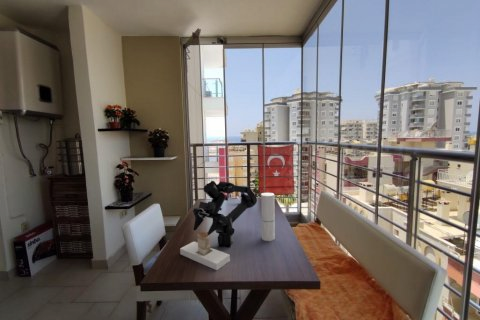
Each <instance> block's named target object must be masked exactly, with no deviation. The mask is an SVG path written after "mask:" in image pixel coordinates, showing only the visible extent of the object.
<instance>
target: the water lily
mask: <svg viewBox="0 0 480 320" xmlns="http://www.w3.org/2000/svg"><path fill="white" fill-rule="evenodd" d="M238 193H239V195H237V196H236V198H237V199H238V201H240V202H241V192H238ZM244 194H245V195H248V194H247V193H244Z"/></svg>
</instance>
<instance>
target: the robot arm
mask: <svg viewBox="0 0 480 320" xmlns="http://www.w3.org/2000/svg"><path fill="white" fill-rule="evenodd" d="M203 192H204V193H205V194H206V195H207V196H208V198H210V199H211V201H210V200H209V201H208V202H204V201H199V205H198V207H195V208H193V210H192V213H193V215H194V225H193V231H196V230H197V229H198V228H199V227H200V226H201V224H202V223H203V222H204V219H205V218H209V219H212V223H211V225H210V227H209V229H208V231H207V232H208V235H211V234H213V233H214V232H216V234H218V236H217V244H218V246H217V248H231V246H232V245H233V242H234V241H233V239H232V236H233V235H234V234H235V229H234V227H233V224H234V222H235V221H237V219H238V218H240V216H241V215H242V214H243V213H244V212H245V211H247V209H251V208H253V207H254V206H255V205H256V204H257V201H258V199H257V196H256V194H255V193H254V192H253V190H252V189H251V187H250V186H248V185H237V184H236V185H235V183H232V182H230V181H223V180H222V181H219V182H218V183H216V181H215V180H211V181H210V182H207V183H206V184H205V185H204V187H203ZM239 192H241V195H240V197H241V201H240V203H238V205H236V206H235V208H234V209H232V210H231V211H230V212H229V213H227V215H226V216H225V215H224V214H223V213H219V212H220V211H222V210H223V209H222V206H223V204H224V202H225V201H229V199H228V195H227V194H233V193H239ZM244 193H247V194H248V195H245V194H244Z"/></svg>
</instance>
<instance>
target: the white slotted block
mask: <svg viewBox="0 0 480 320" xmlns="http://www.w3.org/2000/svg"><path fill="white" fill-rule="evenodd" d="M179 249H180V250H179V253H180V255H181V256H183V257H186V258H188V259H190V260H192V261H195V262H196V263H197V262H198V263H199V264H202V265H204V266H205V267H209V268H211V269H212V270H215V271H218V270H220V269H221V268H222V267H224V266H226V264H228V263H230V261H231V255H230V254H229V253H226V252H224V251H221V250H218V249H216V248H212V247H210V253H208V254H207V255H205V256H203V255H200V254H198V241H191V242H190V243H188V244H186V245H184V246H182V247H181V248H179Z"/></svg>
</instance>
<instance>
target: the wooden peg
mask: <svg viewBox="0 0 480 320" xmlns="http://www.w3.org/2000/svg"><path fill="white" fill-rule="evenodd" d="M210 235H211V234H210ZM210 235H208V231H205V230H203V231H200V232H198V233H197V235H196V237H197V243H198V254H200V255H203V256H205V255H207V254H208V253H210V248H211V243H210V242H211V240H210Z"/></svg>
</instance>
